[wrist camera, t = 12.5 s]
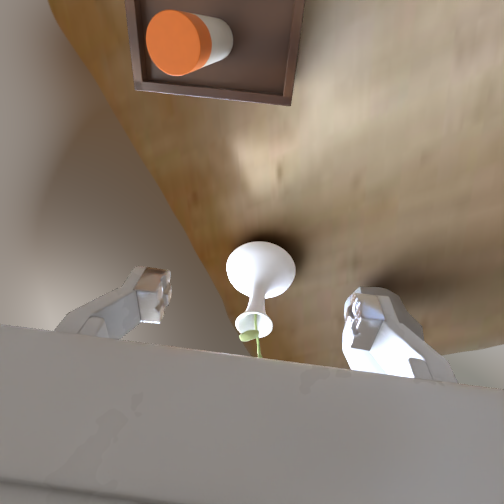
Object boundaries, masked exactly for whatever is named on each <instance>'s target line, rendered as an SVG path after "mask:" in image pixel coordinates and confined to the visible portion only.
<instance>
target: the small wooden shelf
mask: <svg viewBox="0 0 504 504" xmlns="http://www.w3.org/2000/svg"><path fill="white" fill-rule="evenodd" d="M304 6H305V0H125V8H126V17H127V26H128V34H129V43H130V52H131V60H132V69H133V78H134V87H135V90H138V91H148V92H158V93H167V94H177V95H187V96H196V97H206V98H215V99H225V100H235V101H244V102H254V103H263V104H273V105H283V106H291V101H292V94H293V86H294V79H295V72H296V64H297V57H298V50H299V42H300V35H301V28H302V20H303V13H304ZM169 9H170V10H177V11H183V12H188V13H193V14H198V15H204V16H209V17H214V18H219V19H221V20H223V21H224V22H226V23H227V25H228V26H229V27H230V29H231V31H232V35H233V46H232V49H231V52H230V53H229V55H228V56H227V57H226V58H224V59H222V60H220V61H217V62H215V63H212V64H210V65H207V66H205V67H202V68H200V69H197V70H195V71H193V72H190V73H188V74H185V75H182V76H173V75H169V74H167V73H165V72H163V71H162V70H160V69H159V68H158V67H157V66H156V64H155V63H154V62H153V60H152V59H151V57H150V55H149V52H148V49H147V44H146V32H147V27H148V25H149V23H150V21H151V19H152V18H153V17H154V16H155V15H156V14H157V13H159V12H161V11H163V10H169Z"/></svg>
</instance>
